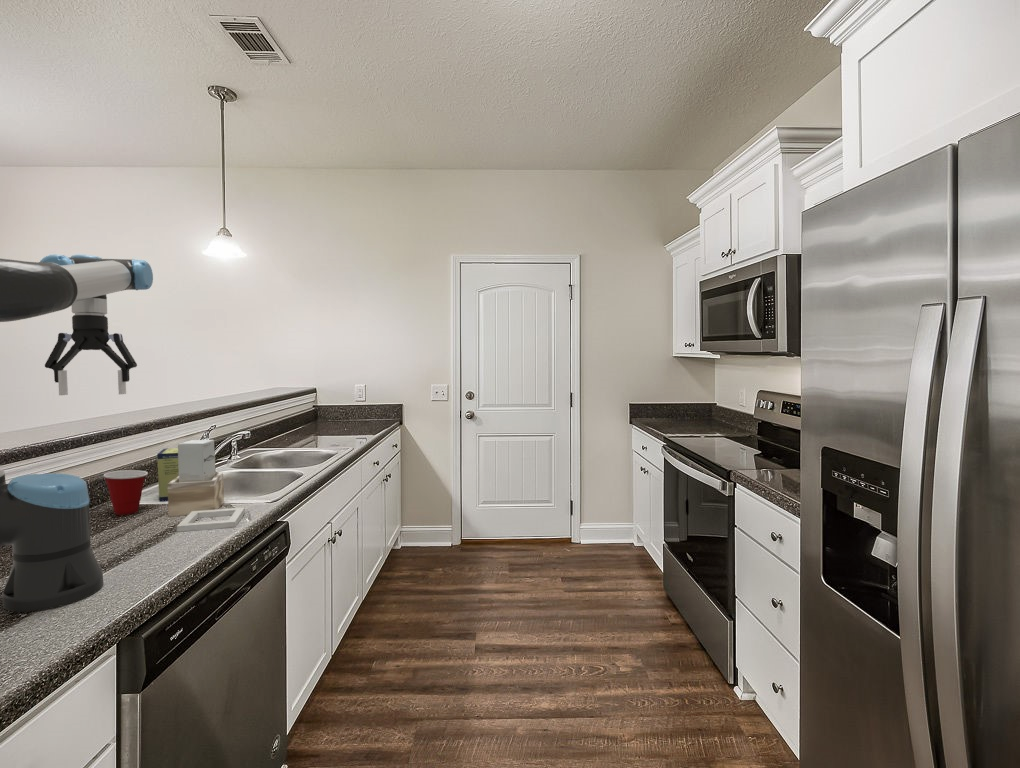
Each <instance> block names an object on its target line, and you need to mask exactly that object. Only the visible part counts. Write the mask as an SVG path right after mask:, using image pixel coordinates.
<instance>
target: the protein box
mask: <svg viewBox="0 0 1020 768" xmlns="http://www.w3.org/2000/svg"><path fill="white" fill-rule="evenodd" d="M215 449H216V448H215V445H214V454H215V455H216V450H215ZM156 455H157V457H156V458H157V459H156V460H157V477H158V482H157V483H158V501H159V502H168V485H167V484H168V483H170V482H171V481H172V480H174V479H175V478H176V477H178V476H179V467H178V447H172V448H171V447H170V448H168V447H167V448H163V449H161V451H159V452H158V453H157V454H156ZM215 473H217V471H216V467H215Z"/></svg>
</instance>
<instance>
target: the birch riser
mask: <svg viewBox="0 0 1020 768" xmlns="http://www.w3.org/2000/svg"><path fill="white" fill-rule="evenodd" d="M167 485H168V501H167V507H168V511H167V512H168V517H178V516H188V515H189V514H190V513H191V512H192V511H203V510H217V509H220V508H221V506H222V505H223V504H224V503H225V494H224V493H225V491H224V490H225V489H224V488H225V487H224V472H222V471H221V472H216V473H215V477H214V478H213V479H212V480H211V481H196V482H179V476H178V477H176V478H175V479H174V480H172V481H171V482H170V483H168V484H167Z"/></svg>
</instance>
